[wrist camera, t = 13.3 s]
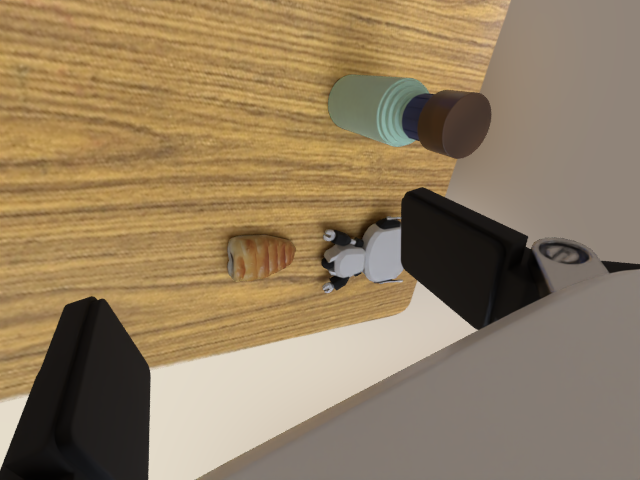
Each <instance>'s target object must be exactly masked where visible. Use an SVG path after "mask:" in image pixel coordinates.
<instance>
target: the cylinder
mask: <svg viewBox="0 0 640 480" xmlns="http://www.w3.org/2000/svg"><path fill="white" fill-rule="evenodd" d="M490 122H491V107H490V103H489V101H488V99H487V98H486V97H485V96H484V95H482V94H480V93H475V92H464V91H454V90H443V91H440V92H438V93H436V94H435V95H433V96H432V97H431V98H430V99H429V100H428V101H427V103H426V104H425V106H424V107H423V109H422V111H421V113H420V116H419V120H418V126H417V132H418V138H419V141H420V143H421V144H422V146H423V147H424V148H426V149H427V150H430V151H433V152H436V153H439V154H443V155H446V156H449V157H452V158H456V159H459V158H464V157H466V156H469V155H470V154H472V153H473V152H474V151H475V150H476V149H477V148H478V147H479V146H480V145H481V143H482V142H483V140H484V138H485V136H486V135H487V132H488V129H489V126H490Z"/></svg>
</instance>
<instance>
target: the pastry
mask: <svg viewBox="0 0 640 480" xmlns="http://www.w3.org/2000/svg"><path fill="white" fill-rule="evenodd" d="M228 243H229V244H228V256H229V263H228V273H229V275H230V276H231V278H232V279H233V280H234V281H237V282H239V281H253V280H256V279H263V278H265V277H268V276H270V275H272V274H274V273H276V272H278V271H280V270H281V269H284V268H285V267H286V266H288V265H290V264H291V262H292V261H293V258H294V254H295V251H296V248H295V246H294V245H293V244H292V243H291V242H290V241H289V240H287V239H282V238H278V237H272V236H268V235H266V234H264V235H247V236H245V235H242V236H237V237H234V238H231V239H230V240H229V242H228Z"/></svg>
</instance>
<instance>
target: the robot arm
mask: <svg viewBox="0 0 640 480" xmlns="http://www.w3.org/2000/svg"><path fill="white" fill-rule="evenodd" d="M527 239H528V236H526V235H524V234H522V233H520V232H518V231H516V230H513V229H511V228H509V227H507V226H505V225H503V224H500V223H498V222H496V221H494V220H492V219H490V218H488V217H486V216H484V215H481V214H479V213H477V212H475V211H473V210H471V209H469V208H466V207H464V206H462V205H460V204H458V203H456V202H454V201H451V200H449V199H447V198H445V197H443V196H441V195H439V194H437V193H434V192H432V191H430V190H428V189H426V188H423V187H421V188H418V189H415V190H412V191H409V192H407V193H406V194H405V196H404V198H403V199H402V202H401V264H402V267H403V268H404V269H405V270H406V271H407V272H408V273H409V274H410V275H412V276H413V277H414V278H415V279H416V280H418V281H419V282H420V283H421V284H422V285H424V286H425V287H426V288H427V289H428V290H430V291H431V292H432V293H433V294H434V295H436V296H437V297H438V298H439V299H440V300H441V301H443V302H444V303H445V304H446V305H447V306H449V307H450V308H451V309H452V310H454V311H455V312H456V313H457V314H458V315H460V316H461V317H462V318H463V319H464V320H465V321H467V322H468V323H469V324H470V325H471V326H473V327H474V328H475V329H478V331H476V332H474V333H472V334H471V335H468V336H466V337H465V338H463V339H461V340H459V341H457V342H455V343H453V344H451V345H449V346H447V347H445V348H443V349H441V350H439V351H437V352H435V353H434V354H432V355H430V356H428V357H426V358H424V359H422V360H420V361H418V362H416V363H415V364H413V365H411V366H409V367H407V368H405V369H403V370H401V371H399V372H398V373H395V374H393V375H391V376H390V377H388V378H386V379H384V380H382V381H380V382H378V383H376V384H374V385H372V386H371V387H369V388H367V389H365V390H363V391H361V392H359V393H357V394H355V395H353V396H351V397H350V398H348V399H346V400H344V401H342V402H340V403H338V404H336V405H334V406H332V407H330V408H329V409H327V410H325V411H323V412H321V413H319V414H317V415H315V416H313V417H312V418H310V419H308V420H306V421H304V422H302V423H301V424H299V425H297V426H295V427H293V428H291V429H289V430H287V431H285V432H283V433H281V434H279V435H278V436H276V437H274V438H272V439H270V440H268V441H266V442H264V443H263V444H261V445H259V446H257V447H255V448H253V449H252V450H249V451H247V452H245V453H244V454H242V455H240V456H238V457H236V458H234V459H232V460H230V461H228V462H227V463H225V464H223V465H221V466H219V467H217V468H216V469H214V470H212V471H210V472H208V473H207V474H205V475H203V476H201V477H199V478H198V479H196V480H640V264H630V263H619V262H609V261H600V259H599V258H598V257H597V255H596V254H595V253H594V252H593V251H592V250H591V249H590V248H588V247H587V246H585V245H583V244H581V243H578V242H576V241H572V240H568V239H564V238H544V239H539V240H537V241H536V242H534V243H533V245H532V248H531V249H529V248H527V247H526V243H527ZM149 421H150V369H149V366H148V364H147V362H146V361H145V359H144V357H143V356H142V354H141V353H140V351H139V350H138V348H137V347H136V345H135V344H134V342H133V341H132V339H131V338H130V336H129V335H128V333H127V332H126V330H125V328H124V327H123V325H122V324H121V322H120V321H119V319H118V318H117V316H116V315H115V313H114V312H113V310H112V309H111V307H110V306H109V304H108V303H107V301H106V300H105V299H99V300H97V299H96V298H95V297H92V296H91V297H88V298H85V299H82V300H79V301H76V302H73V303H70V304H67V305H66V306H65V307H64V309H63V312H62V314H61V317H60V320H59V322H58V325H57V328H56V330H55V333H54V335H53V338H52V341H51V343H50V346H49V349H48V351H47V354H46V356H45V359H44V362H43V364H42V367H41V370H40V371H39V373H38V375H37V376H36V379H35V381H34V384H33V387H32V389H31V392H30V394H29V397H28V400H27V402H26V405H25V407H24V410H23V412H22V415H21V418H20V420H19V423H18V425H17V428H16V431H15V434H14V436H13V438H12V441H11V444H10V446H9V449H8V452H7V455H6V457H5V459H4V462H3V464H2V467H1V470H0V480H148V465H149V462H148V461H149Z"/></svg>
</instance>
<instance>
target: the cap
mask: <svg viewBox="0 0 640 480" xmlns="http://www.w3.org/2000/svg"><path fill="white" fill-rule="evenodd" d="M433 95H435V94H428V93H424V94H420V95H417V96H415V97H414V98H412V99H411V100H410V101H409V103H408V104H407V105H406V107H405V109H404V112H403V116H402V128H403V131H404V133H405V134H406V136H408V138H411V139H414V140H417V141H419V138H418V132H417V126H418V120H419V116H420V113H421V111H422V109H423V107H424V106H425V104H426V103H427V101H428V100H429V99H430V98H431V97H432V96H433Z"/></svg>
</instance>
